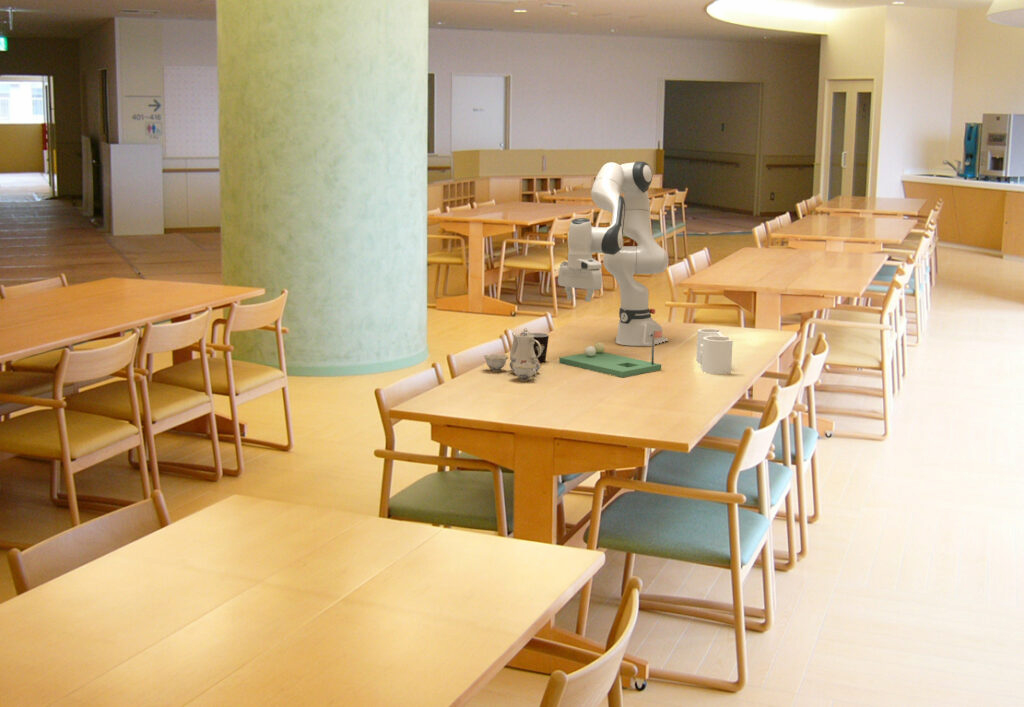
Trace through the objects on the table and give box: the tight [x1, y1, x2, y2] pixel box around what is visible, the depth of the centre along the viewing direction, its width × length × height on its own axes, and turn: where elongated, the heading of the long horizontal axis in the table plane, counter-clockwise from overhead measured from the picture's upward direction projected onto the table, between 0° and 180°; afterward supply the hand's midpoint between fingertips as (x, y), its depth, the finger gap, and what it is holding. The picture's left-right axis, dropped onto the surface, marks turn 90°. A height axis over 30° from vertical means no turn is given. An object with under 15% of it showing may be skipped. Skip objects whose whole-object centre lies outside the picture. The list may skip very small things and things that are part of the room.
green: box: [558, 351, 662, 378], centre depth 402 cm, size 20×32×2 cm, turn 41°
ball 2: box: [593, 342, 605, 353], centre depth 416 cm, size 4×4×4 cm
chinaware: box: [483, 327, 542, 382], centre depth 387 cm, size 28×17×17 cm, turn 40°
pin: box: [650, 330, 663, 365], centre depth 396 cm, size 5×1×12 cm, turn 130°
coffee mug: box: [517, 332, 550, 364], centre depth 409 cm, size 12×9×10 cm
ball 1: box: [584, 345, 596, 357], centre depth 409 cm, size 4×4×4 cm
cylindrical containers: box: [696, 328, 734, 375], centre depth 401 cm, size 25×10×12 cm, turn 0°
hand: (579, 300), depth 411 cm, fingers open, 8 cm apart
